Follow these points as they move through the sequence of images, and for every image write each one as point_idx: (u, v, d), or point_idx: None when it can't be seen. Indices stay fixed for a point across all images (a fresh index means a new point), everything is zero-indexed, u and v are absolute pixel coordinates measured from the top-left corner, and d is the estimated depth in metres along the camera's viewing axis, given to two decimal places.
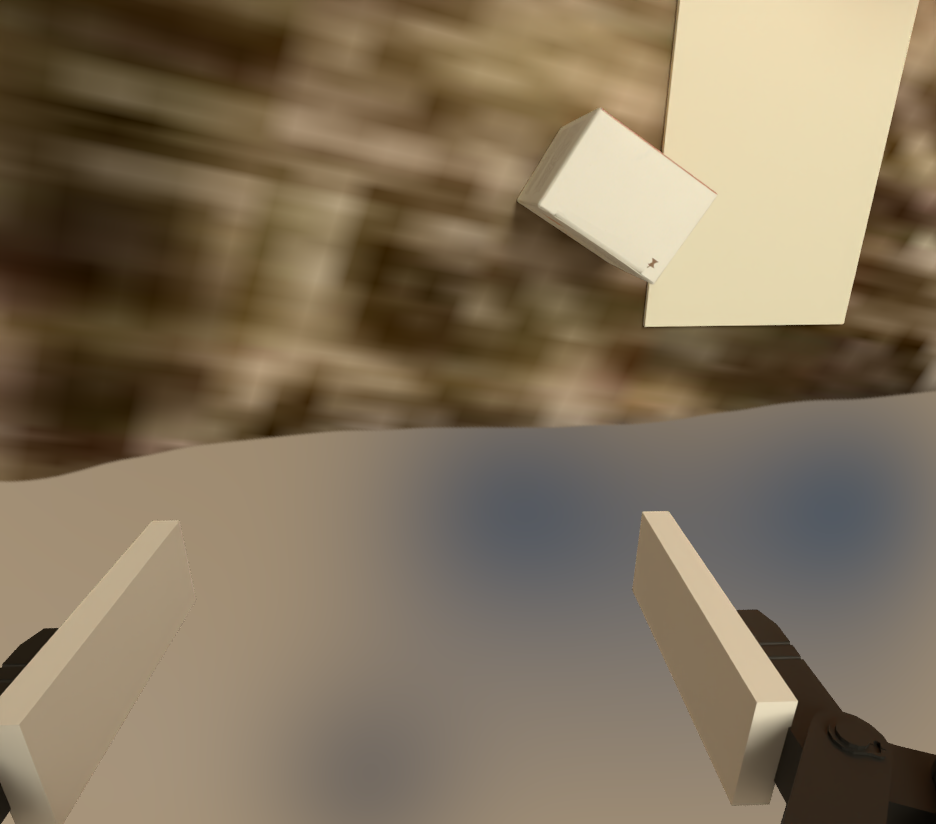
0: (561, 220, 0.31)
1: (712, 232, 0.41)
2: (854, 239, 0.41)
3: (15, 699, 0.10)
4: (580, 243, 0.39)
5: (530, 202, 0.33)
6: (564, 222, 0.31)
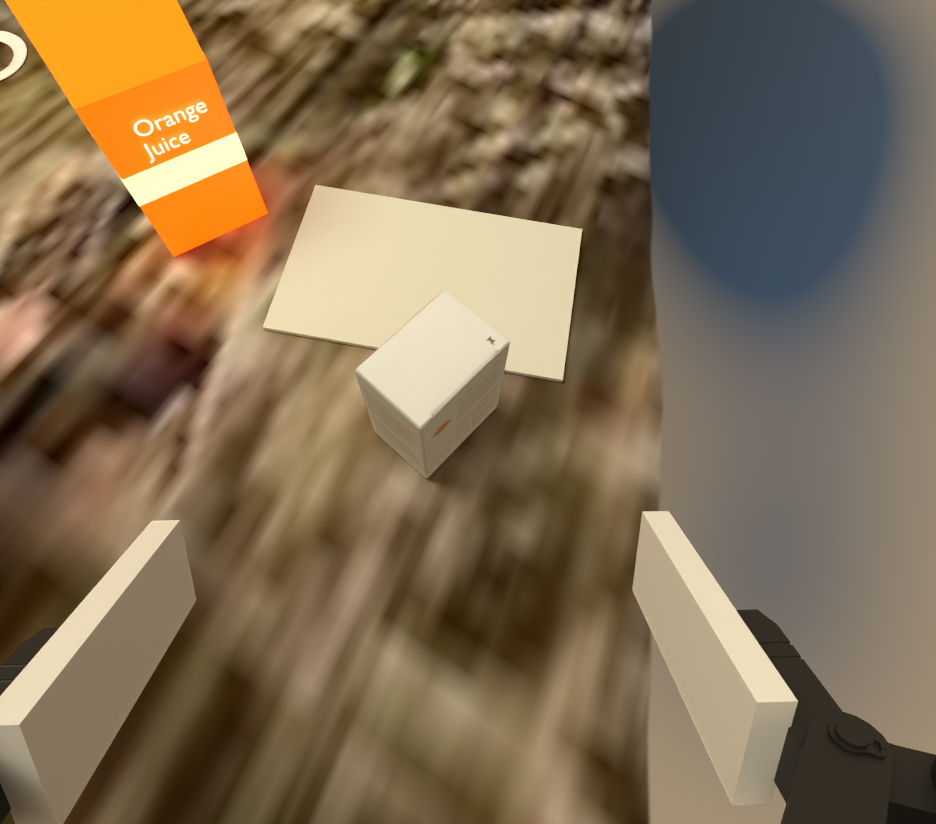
0: (438, 411, 0.33)
1: (487, 321, 0.47)
2: (512, 223, 0.51)
3: (15, 699, 0.10)
4: (474, 424, 0.42)
5: (421, 446, 0.35)
6: (440, 408, 0.33)
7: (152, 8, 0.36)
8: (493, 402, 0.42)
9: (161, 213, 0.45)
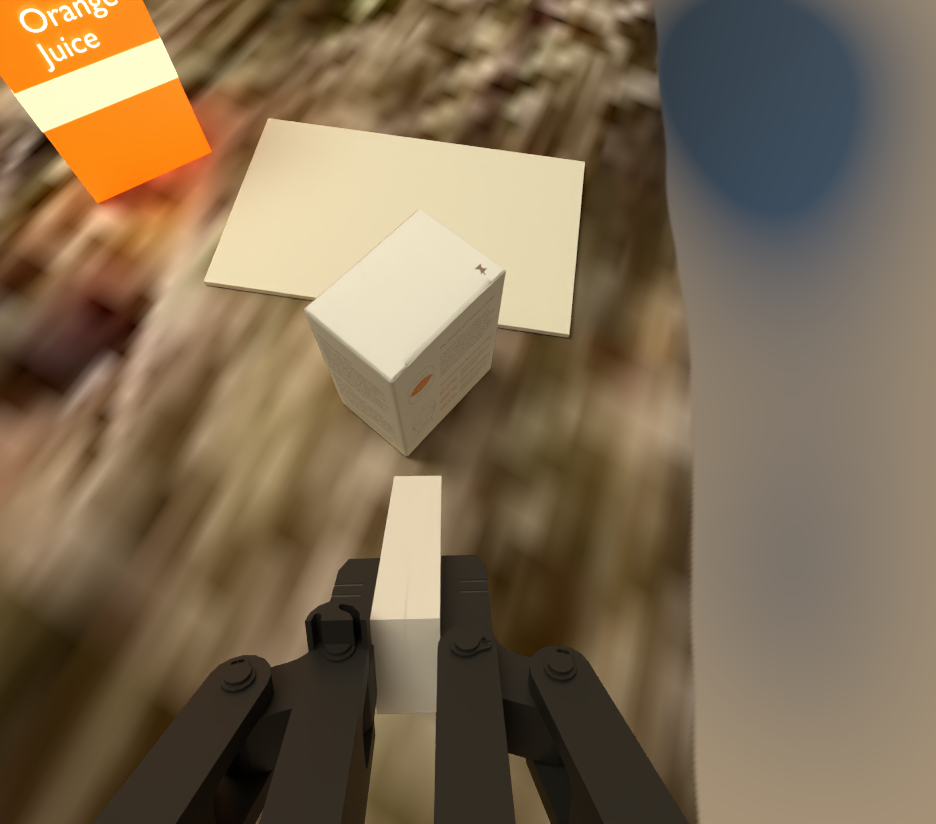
0: (414, 358, 0.25)
1: None
2: (502, 157, 0.43)
3: (387, 602, 0.13)
4: (463, 387, 0.34)
5: (395, 408, 0.27)
6: (417, 356, 0.25)
7: None
8: (486, 360, 0.34)
9: (74, 143, 0.37)
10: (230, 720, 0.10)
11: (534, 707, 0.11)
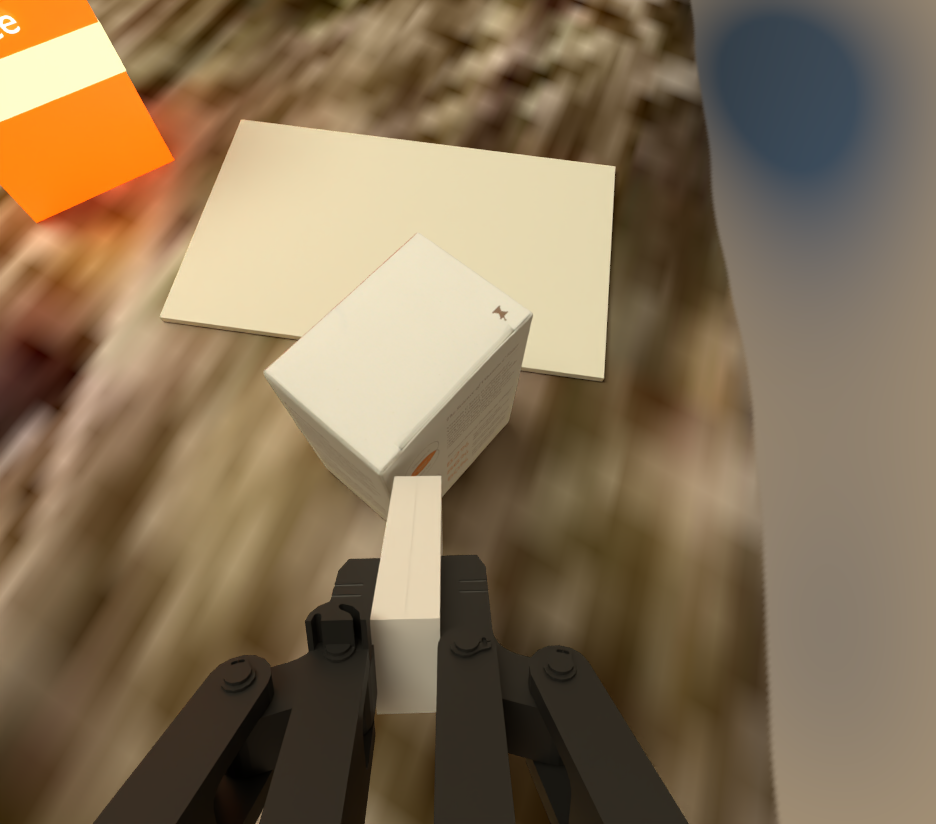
0: (411, 439, 0.18)
1: None
2: (518, 161, 0.36)
3: (387, 602, 0.13)
4: (476, 450, 0.27)
5: (388, 498, 0.21)
6: (416, 435, 0.19)
7: None
8: (504, 415, 0.28)
9: None
10: (230, 720, 0.10)
11: (534, 708, 0.11)
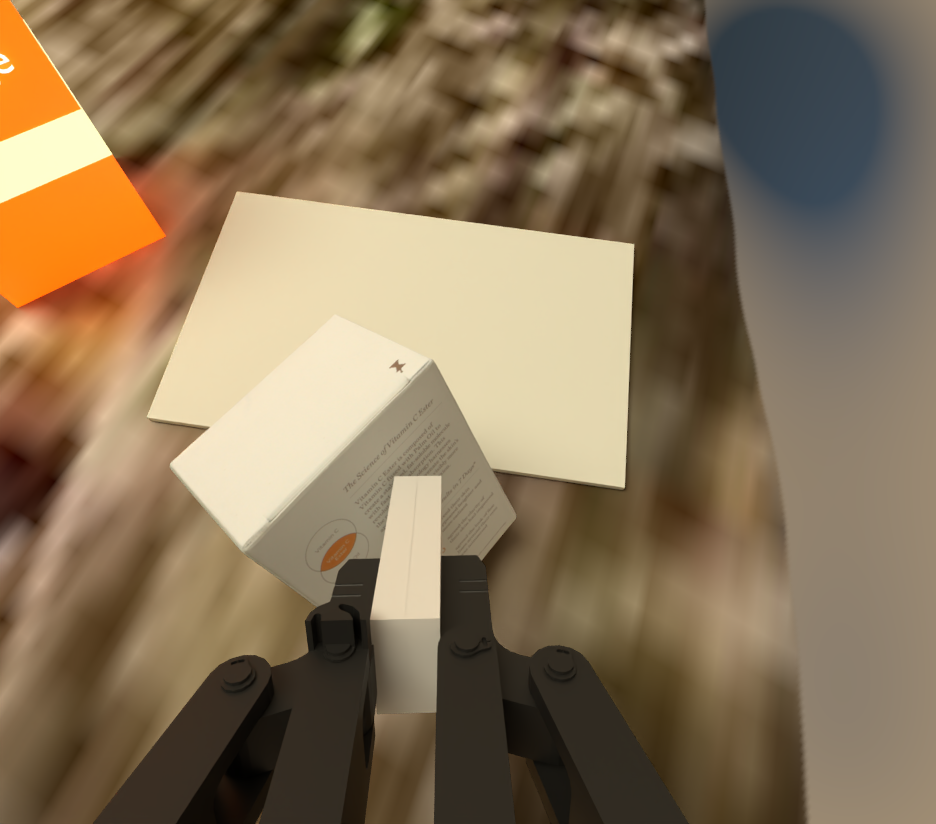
0: (284, 509, 0.16)
1: (500, 393, 0.30)
2: (530, 239, 0.34)
3: (387, 602, 0.13)
4: (465, 549, 0.23)
5: None
6: (289, 504, 0.16)
7: None
8: (493, 505, 0.24)
9: None
10: (230, 720, 0.10)
11: (534, 708, 0.11)
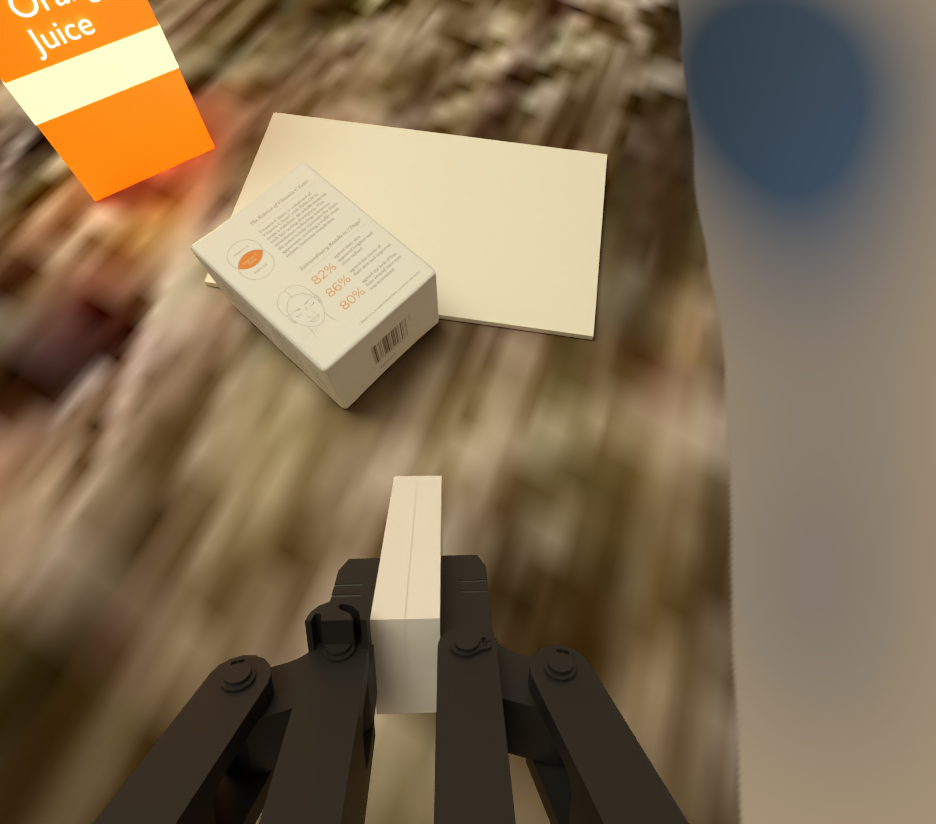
0: (213, 230, 0.31)
1: (492, 266, 0.37)
2: (520, 150, 0.41)
3: (387, 602, 0.13)
4: (374, 284, 0.30)
5: (225, 281, 0.30)
6: (217, 228, 0.31)
7: None
8: (395, 254, 0.30)
9: (70, 138, 0.35)
10: (230, 720, 0.10)
11: (534, 708, 0.11)
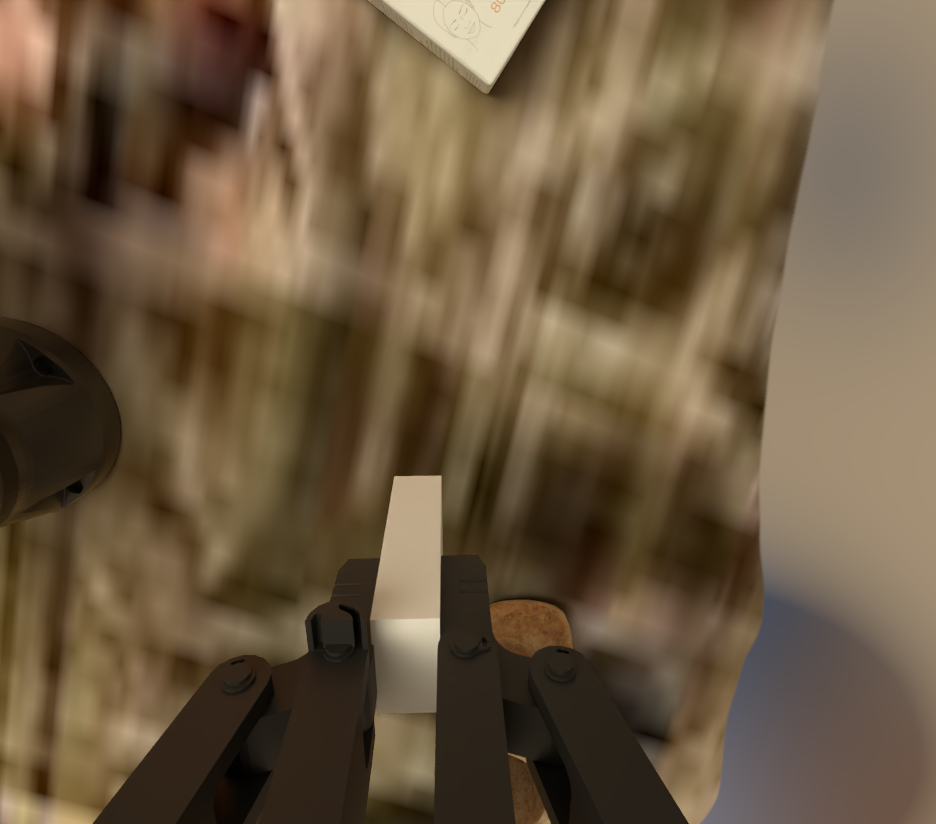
0: None
1: None
2: None
3: (387, 602, 0.13)
4: None
5: None
6: None
7: None
8: None
9: None
10: (230, 720, 0.10)
11: (534, 708, 0.11)
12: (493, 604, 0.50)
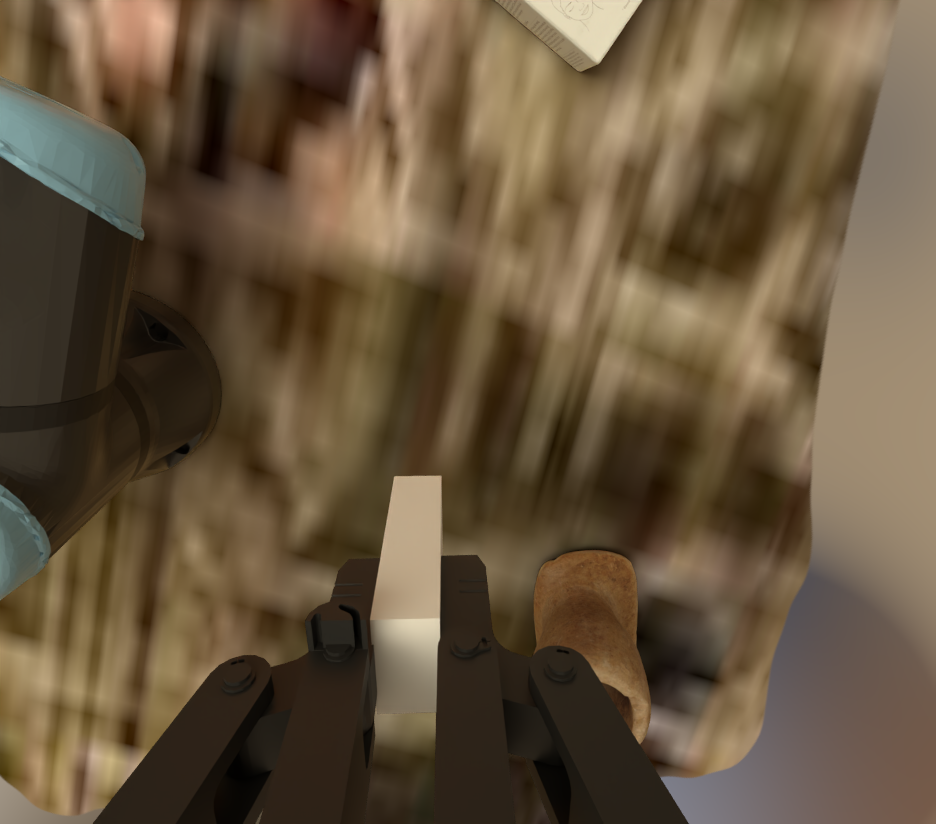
0: None
1: None
2: None
3: (387, 602, 0.13)
4: None
5: None
6: None
7: None
8: None
9: None
10: (230, 720, 0.10)
11: (534, 708, 0.11)
12: (565, 555, 0.53)
